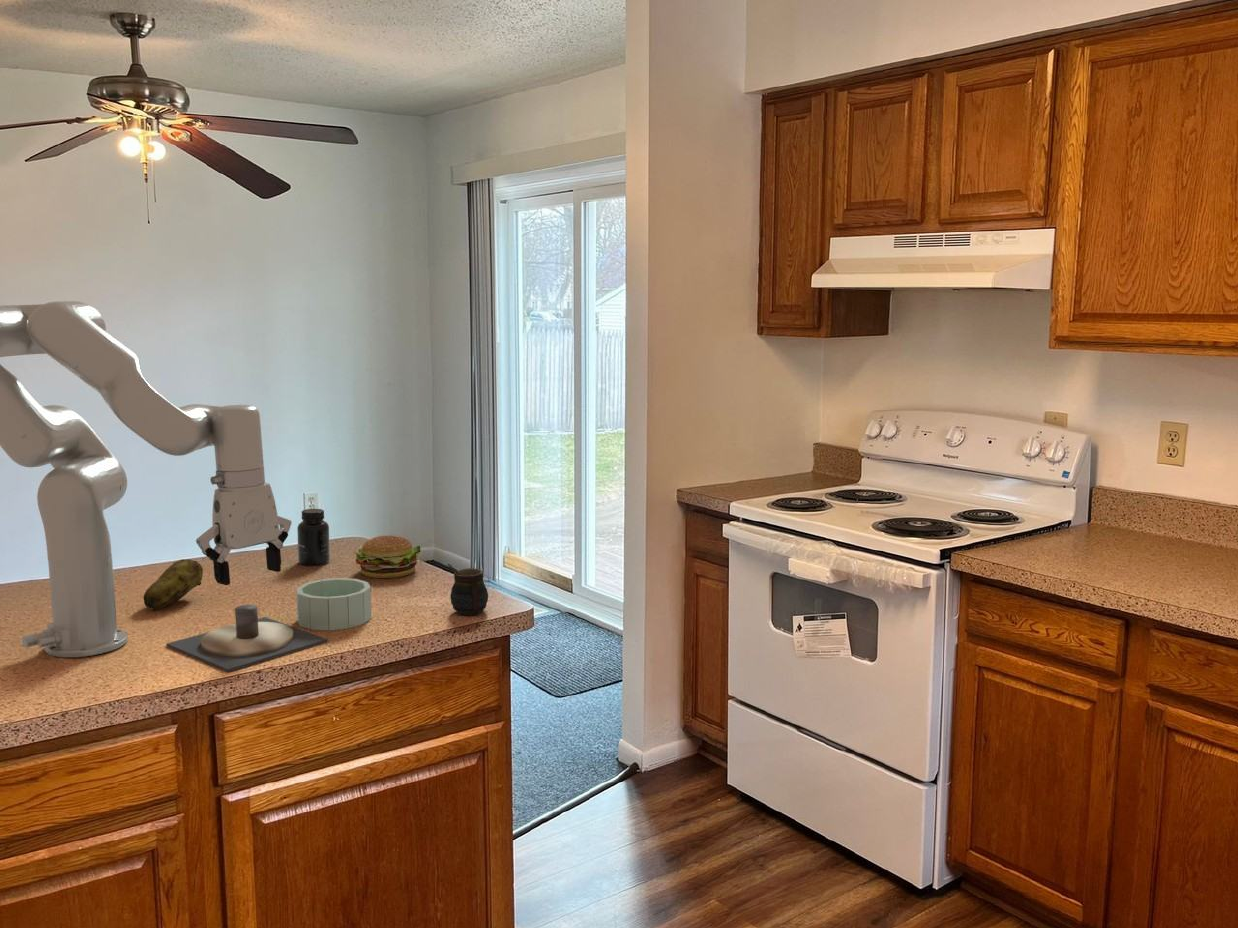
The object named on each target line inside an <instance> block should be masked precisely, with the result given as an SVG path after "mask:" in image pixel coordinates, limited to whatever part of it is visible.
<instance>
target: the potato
mask: <svg viewBox="0 0 1238 928" xmlns="http://www.w3.org/2000/svg"><path fill="white" fill-rule="evenodd" d="M203 575H204V567H203V566H202V565H201V563H199V562H198V561H197V560H194V559H183V558H182V559H179V560H177V561H174V562H173V563H172V564H171V565H170V566H169V567H167V568H166V569H165V570H164V571H163V572H162V574H161V575H160V576H159V577H158V578H157V580H155V581H154V582H153V583H152V584H151V585H150V586H149V587H148V588H147V589H146V590H145V592H144V594H143V603H144V605H145V606H146V608H148V609H151V610H153V611H155V610H159V609H162V608H164V607H167V606H168V605H172V604H175V603H177V602H178V601H179V600H180V599H182V598H183V597H185V596H186V595H187V594H188V593H189V592H190V591H192V590H193V589H195V588H196V587H197V586H201V584H202V580H203Z"/></svg>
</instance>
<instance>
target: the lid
mask: <svg viewBox="0 0 1238 928" xmlns="http://www.w3.org/2000/svg"><path fill="white" fill-rule="evenodd" d="M258 612H259V611H258V606H257V605H256V604H243V605H239V606H238V605H237V606H236V607H235V608H234V614H235V623H233V624H229V625H225V626H221V627H217V628H215V629H213V630H210V631H207V632H208V633H207V632H206V633H207V634H205V635H204V636H203V637H202V638H201V648H202V649H203V650H204V651H205V652H207V653H210V654H214V655H219V656H249V655H257V654H262V653H267V652H271V651H274V650H277V649H280V648H282V647H284V646H286V645H288V644H289V643H290V642H291V641H292V640H293V630H292V628H291V627H289V626H290V625H289V626H287V625H288V624H286V625H284V624H285V623H284V624H280V623H274V622H258V619H259V615H258Z"/></svg>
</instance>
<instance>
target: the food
mask: <svg viewBox="0 0 1238 928" xmlns="http://www.w3.org/2000/svg"><path fill="white" fill-rule="evenodd" d="M413 545H414V544H413V542H412V541H410V540H409V539H407V538H405V537H402V536H400V535H392V534H391V535H389V534H388V535H380V536H375V537H371V538H370V539H368V540H366V541H365V542H364V543H363V545H362V547H361V548H358V552H356V551H354V552H353V554H354V555H355V556H356V558H355V563H356V564H357V565H359V567H360V573H361V574H362V575H364V576H365V577H368V578H375V579H395V578H401V577H404V576H408V575H410V574H412V573H414V572H416V571H415V570H416V565H417V563H418V559H417V556H418V555H419V553H421V545H416V546H415V547H414V546H413Z"/></svg>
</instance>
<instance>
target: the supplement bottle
mask: <svg viewBox="0 0 1238 928" xmlns="http://www.w3.org/2000/svg"><path fill="white" fill-rule="evenodd" d="M324 519H325V510H324V509H322V508H307V509H303V510H301V520H302V521H301V522H299V524H298V525H297V529H296V530H297V558H298V559H297V560H298V563H299V564H300V565H302V566H306V567H309V566H310V567H315V566H316V567H317V566H322V565H326V564H328V563H329V561H330V558H331V555H330V552H331V551H330V525H329V524H328V522H326V521H325V520H324Z"/></svg>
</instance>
